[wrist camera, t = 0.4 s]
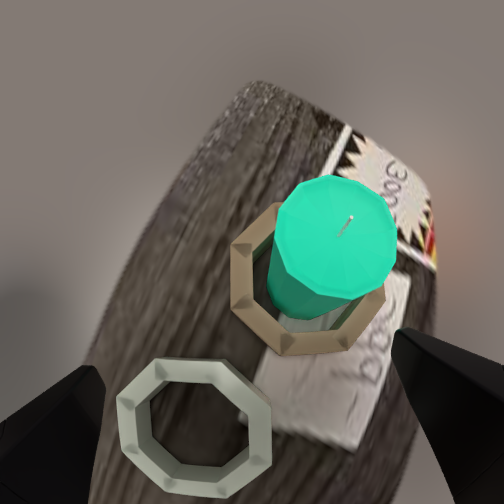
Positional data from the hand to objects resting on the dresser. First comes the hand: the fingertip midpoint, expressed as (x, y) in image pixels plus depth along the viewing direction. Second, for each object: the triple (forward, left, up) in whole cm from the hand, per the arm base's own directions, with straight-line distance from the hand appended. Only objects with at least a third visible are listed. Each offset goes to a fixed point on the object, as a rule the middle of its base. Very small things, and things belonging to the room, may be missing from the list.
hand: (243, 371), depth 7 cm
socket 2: (+1, -7, -14) cm, 15 cm away
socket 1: (-1, +7, -14) cm, 16 cm away
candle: (+1, -7, -14) cm, 16 cm away
